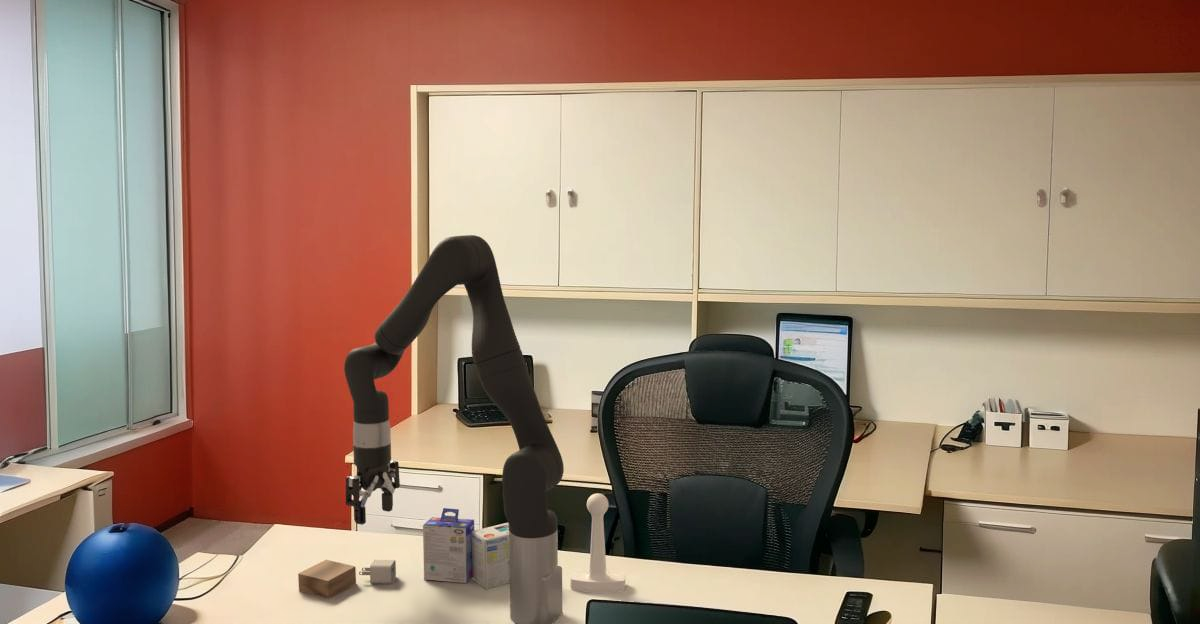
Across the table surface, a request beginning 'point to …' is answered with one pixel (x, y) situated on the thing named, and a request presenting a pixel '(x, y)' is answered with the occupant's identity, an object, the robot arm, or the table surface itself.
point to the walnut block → (327, 578)
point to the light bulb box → (491, 555)
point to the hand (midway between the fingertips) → (374, 517)
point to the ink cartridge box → (448, 548)
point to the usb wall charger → (381, 571)
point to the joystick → (597, 555)
